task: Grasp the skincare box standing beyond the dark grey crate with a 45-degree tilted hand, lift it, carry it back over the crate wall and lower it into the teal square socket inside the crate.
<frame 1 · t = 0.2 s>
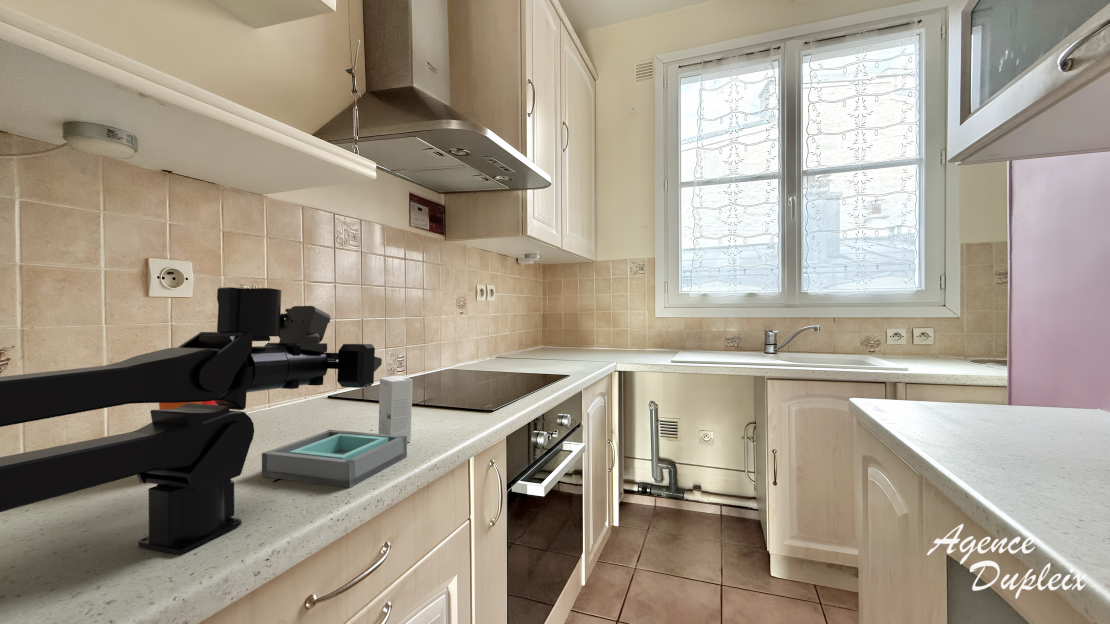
hand: (357, 360, 70), 16 cm above the countertop, tool horizontal, fingers open, 9 cm apart
skincare box: (395, 442, 80), on the countertop
crate: (338, 466, 67), on the countertop
paper cup: (189, 471, 66), on the countertop
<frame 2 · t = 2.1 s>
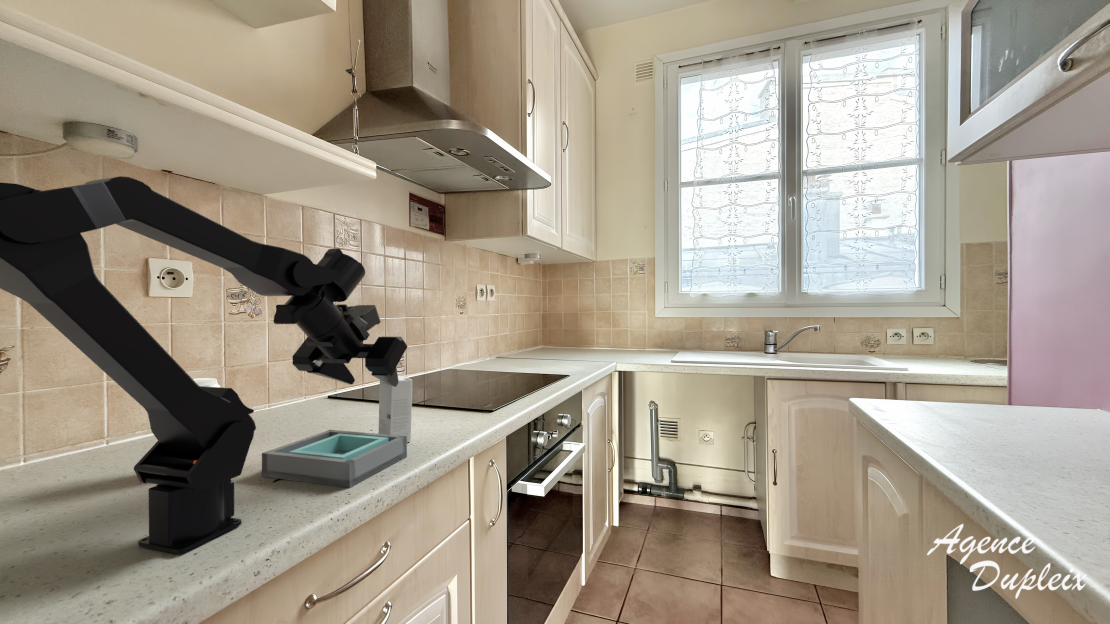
hand: (374, 383, 74), 12 cm above the countertop, tool tilted 45°, fingers open, 9 cm apart
nothing on the countertop moved.
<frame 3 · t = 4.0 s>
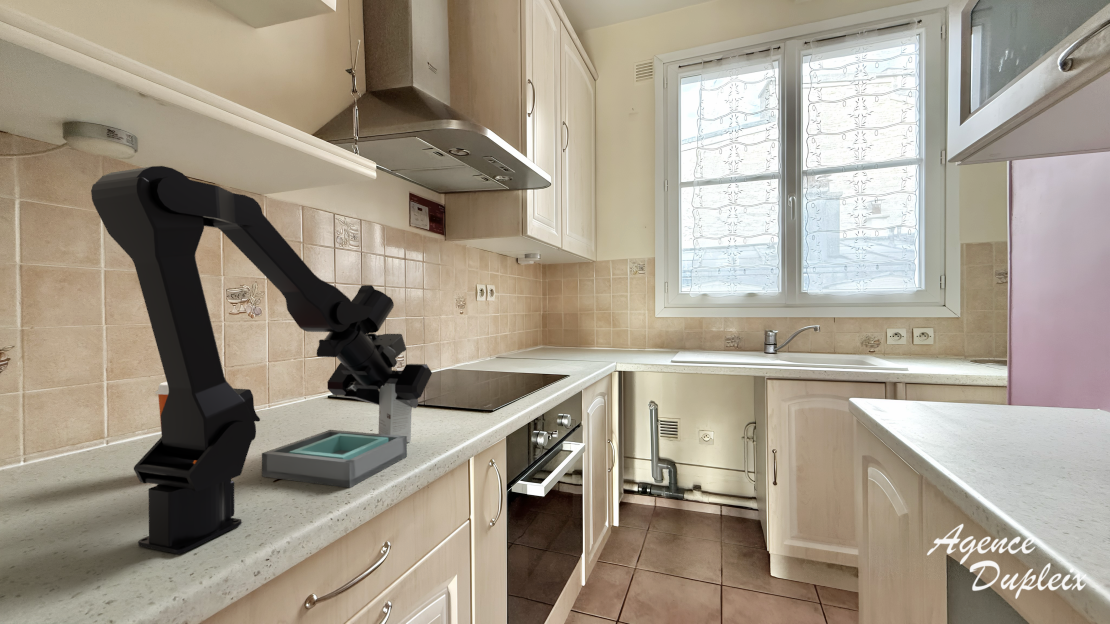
hand: (399, 404, 81), 7 cm above the countertop, tool tilted 45°, fingers closed on skincare box, 7 cm apart
skincare box: (395, 442, 80), on the countertop, touching gripper
everything else where it was.
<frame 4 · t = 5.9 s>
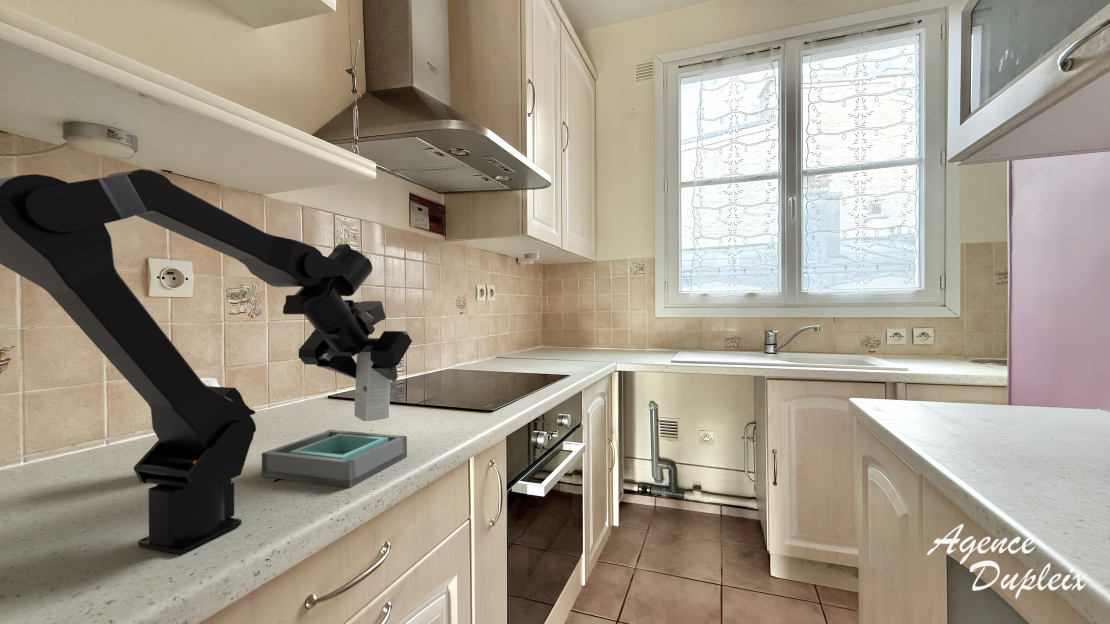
hand: (378, 378, 75), 13 cm above the countertop, tool tilted 45°, fingers closed on skincare box, 7 cm apart
skincare box: (372, 418, 74), point 6 cm above the countertop, touching gripper
everything else where it was.
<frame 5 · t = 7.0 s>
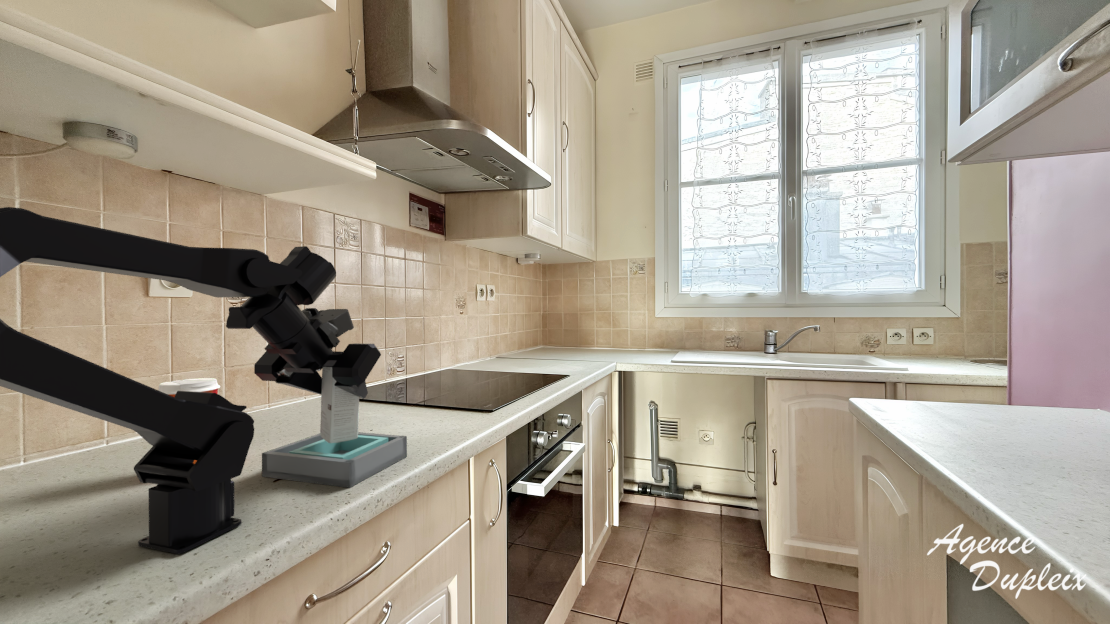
hand: (346, 394, 68), 11 cm above the countertop, tool tilted 45°, fingers closed on skincare box, 7 cm apart
skincare box: (340, 439, 67), point 4 cm above the countertop, touching gripper
everything else where it was.
when the fingers open (9 cm above the countertop, at t = 8.0 s): skincare box drops 1 cm, resting on crate.
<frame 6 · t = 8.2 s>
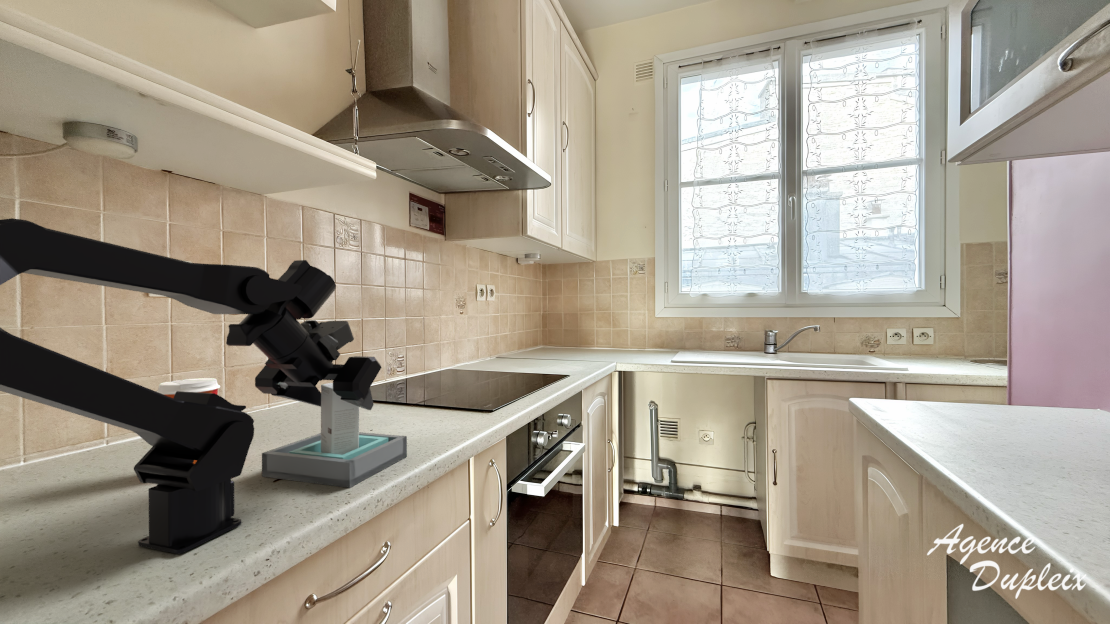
hand: (347, 406, 68), 9 cm above the countertop, tool tilted 45°, fingers open, 9 cm apart
skincare box: (340, 461, 67), point 1 cm above the countertop, touching crate
everything else where it was.
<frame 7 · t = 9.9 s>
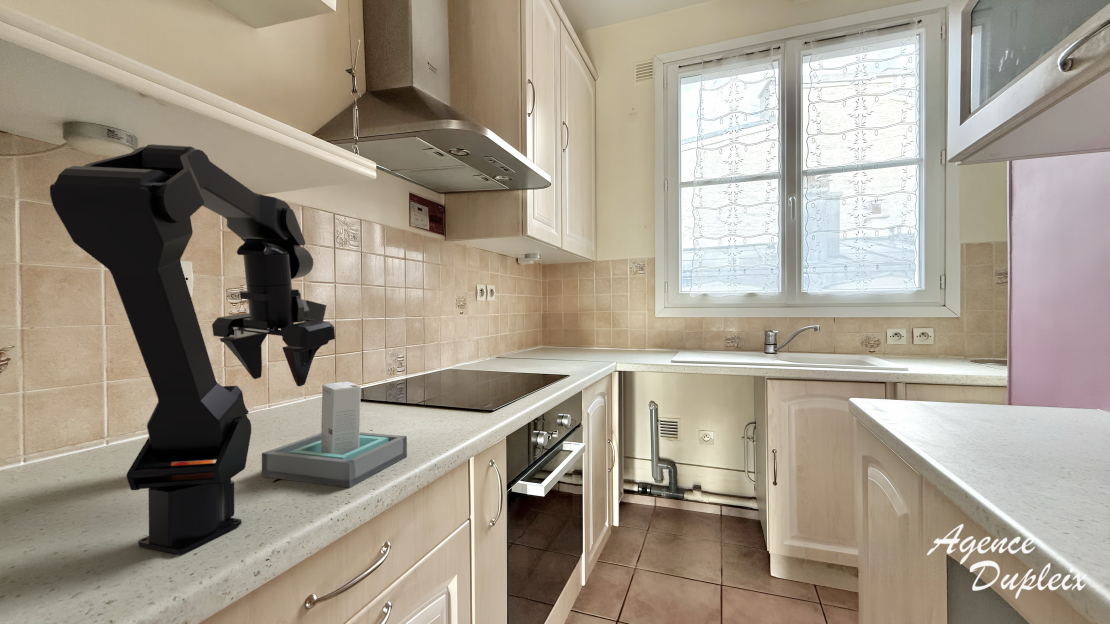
hand: (278, 381, 67), 14 cm above the countertop, tool pointing down, fingers open, 9 cm apart
nothing on the countertop moved.
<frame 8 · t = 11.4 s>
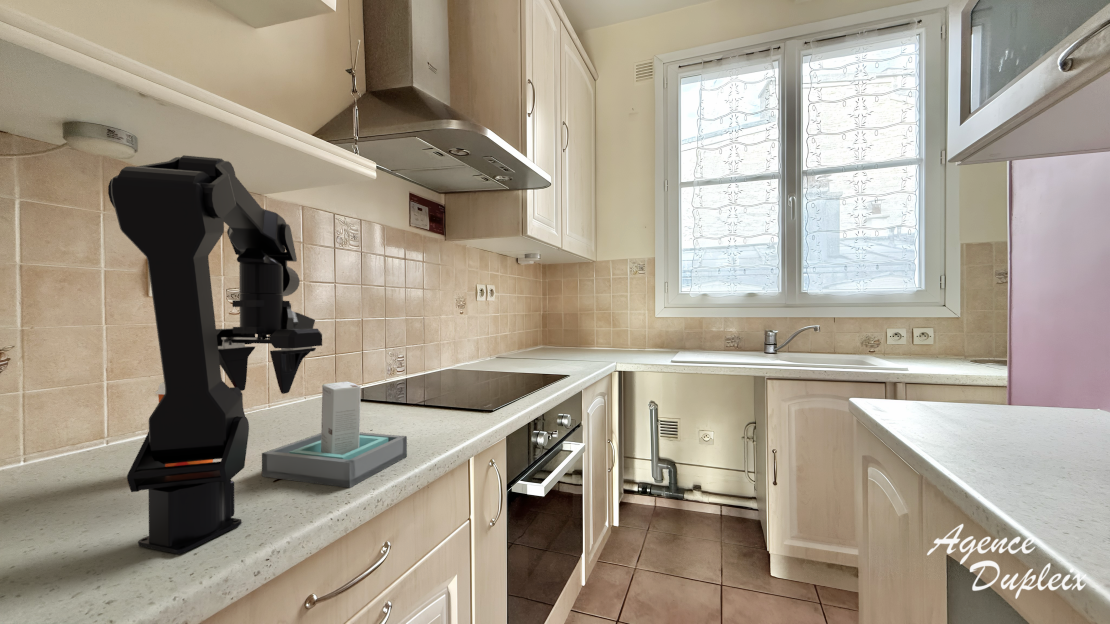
hand: (262, 391, 67), 12 cm above the countertop, tool pointing down, fingers open, 9 cm apart
nothing on the countertop moved.
at the end: skincare box 0.2 cm from the target spot, point 0.8 cm above the countertop; skincare box tilted 0°; the gripper is holding nothing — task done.
